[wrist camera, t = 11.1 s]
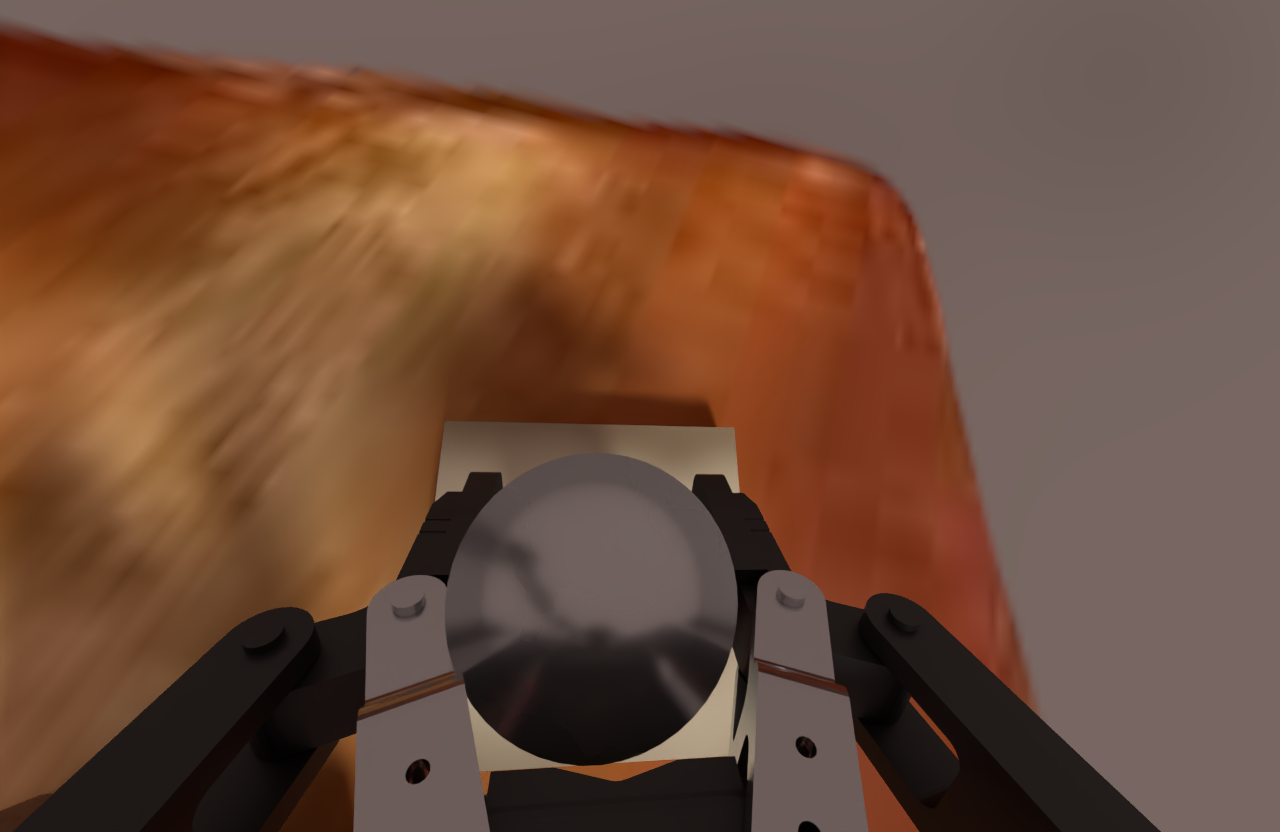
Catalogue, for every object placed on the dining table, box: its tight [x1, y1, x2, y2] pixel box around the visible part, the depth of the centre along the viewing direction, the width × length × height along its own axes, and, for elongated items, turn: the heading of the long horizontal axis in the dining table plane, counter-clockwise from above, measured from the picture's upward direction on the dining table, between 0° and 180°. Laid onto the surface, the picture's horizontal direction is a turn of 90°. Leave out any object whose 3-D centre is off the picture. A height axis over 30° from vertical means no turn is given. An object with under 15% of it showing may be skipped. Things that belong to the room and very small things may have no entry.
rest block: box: [435, 421, 739, 771], centre depth 19 cm, size 12×12×2 cm
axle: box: [445, 453, 738, 766], centre depth 12 cm, size 4×4×11 cm
